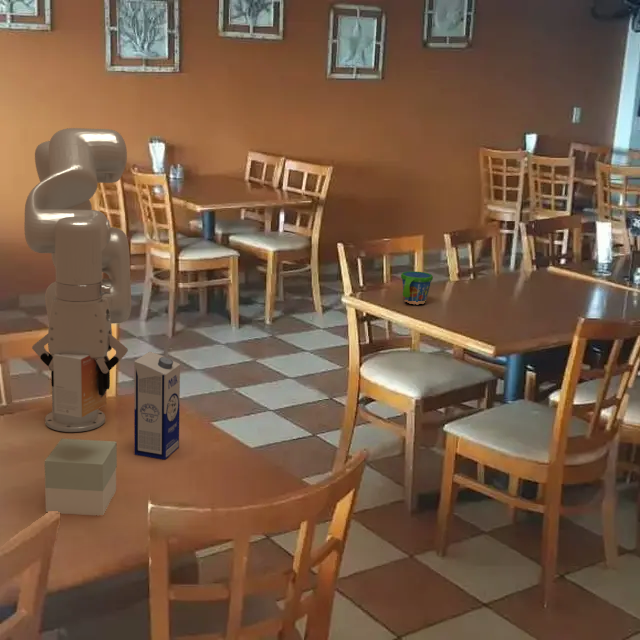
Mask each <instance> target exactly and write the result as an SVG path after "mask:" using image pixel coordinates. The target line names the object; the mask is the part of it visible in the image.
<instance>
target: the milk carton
mask: <svg viewBox="0 0 640 640" xmlns="http://www.w3.org/2000/svg"><path fill="white" fill-rule="evenodd" d="M133 362H134V364H133V365H134V366H133V367H134V374H133V375H134V379H133V380H134V381H133V382H134V384H133V385H134V386H133V387H134V403H133V404H134V413H133V414H134V418H133V419H134V422H133V424H134V427H133V428H134V431H133V432H134V436H133V437H134V439H133V440H134V445H133V447H134V449H133V450H134V451H133V453H134V455H135V456H141V457H144V458H145V457H146V458H151V459H157V460H163V461H165V460H166V459H168V458H169V457H170V456H171V455H172V454H173V453H175V452H176V451H177V449H179V448H180V401H181V400H180V397H181V396H180V395H181V394H180V393H181V392H180V391H181V390H180V389H181V381H180V379H181V364H180V363H178V362H177V361H174V360H172V358H171V359H170V358H168V357H165V356H163V355H161V354H159V353H156V352H152V351H148V352H146V353H145V354H143V355H142V356H140V357H138V358H137V359H135V360H134V361H133Z"/></svg>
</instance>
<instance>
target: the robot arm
mask: <svg viewBox="0 0 640 640" xmlns="http://www.w3.org/2000/svg"><path fill="white" fill-rule="evenodd" d="M127 161H128V151H127V145H126V142H125V139H124V137H123V136H122V135H121V133H119V132H118V131H116V130H113V129H109V128H85V127H84V128H81V127H71V128H70V127H69V128H63V129H60V130H58V131H56V132H55V133H54V134H53V135H52V136H51V138H50V140H47V141H44V142H41V143H39V144H38V145H37V146H36V149H35V152H34V162H35V168H36V173H37V177H38V179H39V181H40V182H38V184H36V185H35V186H34V187H33V188H32V189H31V190H30V192H29V193H28V196H27V198H26V200H25V205H24V225H23V226H24V238H25V243H26V245H27V246H28V248H29V249H30V250H31V251H33V252H34V253H39V254H51V261H52V264H53V266H54V268H55V281H54V282H51V284H49V285H48V287H47V288H46V289H45V294H44V302H45V309H46V310H45V311H46V313H47V320H48V333H47V334H46V335H44V336H43V337H42V338H40V339H39V340H38V341H37V342H35V343H34V344H33V345H32V347H31V348H32V350H33V351H34V353H35V354H36V355H37V356H38V357H39V358H40V360H41V362H43V363H44V364H45V365H46V366H47V368H48V370H49V371H50V375H51V377H50V378H51V379H50V380H51V401H52V403H51V406H52V409H51V410H52V411H50V412H49V413H47V414H46V416H45V417H44V424H45V426H46V427H48V428H49V429H52V430H55V431H57V432H62V433H63V432H65V433H81V432H86V431H87V432H88V431H91V430H95V429H97V428H99V427H101V426H103V424H104V423H105V422H106V415H105V412H103V411H102V410H100V409H99V408H98V409H96V410H94V411H92V412H91V413H89V414H87V415H85V416H84V417H82V418H80V417H75V416H69V415H64V414H58V413H55V412H54V368H53V355H55V354H80V355H90V358H92V359H95V360H96V362H97V363H98V365H99V367H100V373H99V375H98V381H99V395H104V393H105V392H106V393H107V390H110V386H111V385H110V384H111V380H110V379H111V374H110V372H111V370H112V369H113V368H114V367H115V366H116V365H117V364H118V363H119V362H120V361H121V360H122V359H123V358H124V356H126V355H127V353H128V352H129V349H128V348H127V347H126V346H125V345H124V344H123V343H121V341H119V340H118V339H117V338H116V337H114V336H113V329H112V324H121V323H125V322H126V321H127V320H129V318H130V316H131V311H132V286H131V285H132V284H131V283H132V282H131V260H130V259H131V256H130V246H129V241H128V236H127V235H126V233H125V232H124V231H123V230H122V229H120V228H119V227H112V226H111V222H110V220H109V219H108V218H107V216H106V215H105V213H103V212H101V211H100V210H96V209H95V210H94V209H93V207H92V202H91V198H92V197H93V196H94V195H95V193H96V191H97V189H98V183H99V184H105V183H106V184H112V183H116V182H119V181H120V180H121V178H122V176H123V174H124V172H125V169H126V166H127ZM103 273H105V274H106V275H107V276H108V278H103ZM46 345H47V348H48V351H47V349H46V348H45V346H46ZM112 349H113V350H114V351H115V352H116V353H115V354H114V355H113V356H112V357H111V358H109V356H108V352H111V350H112Z"/></svg>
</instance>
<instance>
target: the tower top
mask: <svg viewBox="0 0 640 640" xmlns="http://www.w3.org/2000/svg"><path fill="white" fill-rule="evenodd" d="M117 455H118V454H117V441H110V440H109V441H108V440H95V439H76V438H61V439H60V440H59V441H58V442H57V444H56V446H54V447H53V449H52V451H51V452H50V453H49V455H47V457H46V459H45V460H44V489H45V488H57V489H74V490H92V491H103V490H104V489H105V487H106V485H107V483H108V481H109V480H110V478H111V476H112V474H113V473H114V471H115V469H116V470H117V466H118V463H117V462H118V459H117V457H118V456H117Z"/></svg>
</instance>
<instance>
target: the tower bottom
mask: <svg viewBox="0 0 640 640" xmlns="http://www.w3.org/2000/svg"><path fill="white" fill-rule="evenodd" d="M44 491H45V496H44V497H45V498H44V499H45V513H46V512H48V511H58V512H60V513H61V515H62V514H63V515H78V516H79V515H83V516H96V515H97V516H99V515H105V514H104V513H106V512H105V511H107V510H106V509H108V508H107V507H109V506H110V504H109V503H111V502H112V500H111V499H113V498H112V497H114V496H115V494H116V491H117V468H116V469H115V471H114V473H113V474H112V476H111V478H110V480H109V481H108V483H107V485H106V487H105V489H104V490H103V491H92V490H74V489H57V488H45V487H44ZM110 501H111V502H110ZM108 505H109V506H108ZM99 517H100V516H99Z"/></svg>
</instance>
